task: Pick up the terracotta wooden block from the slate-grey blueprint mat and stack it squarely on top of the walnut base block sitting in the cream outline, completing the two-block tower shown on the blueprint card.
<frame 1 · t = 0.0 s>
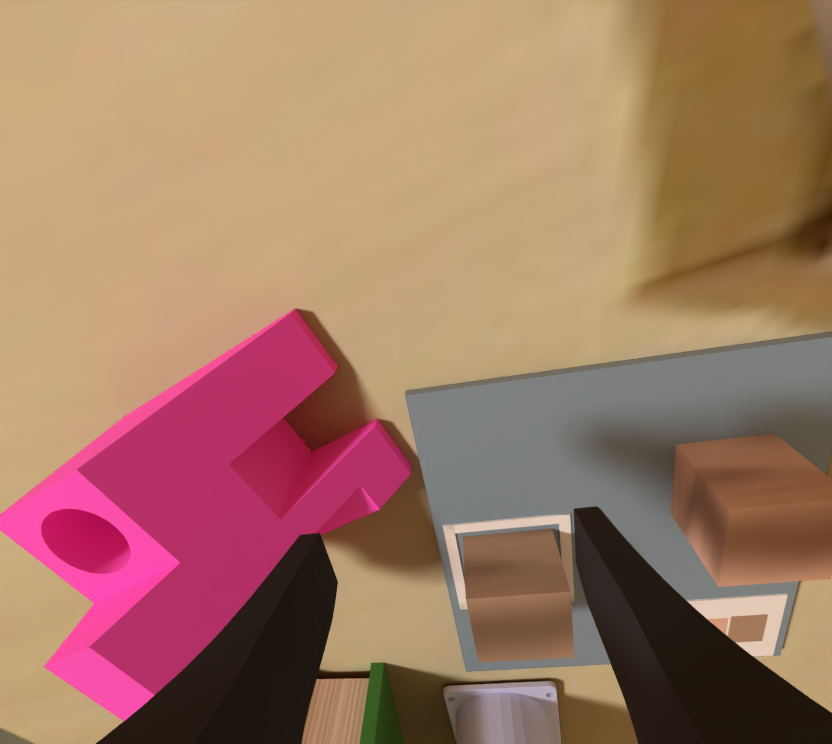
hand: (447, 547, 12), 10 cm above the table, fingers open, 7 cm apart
bracket: (270, 438, 24), on the table
blueprint mat: (613, 535, 25), on the table
terracotta block: (719, 475, 22), resting on blueprint mat
hardback book: (357, 728, 36), on the table
walnut block: (510, 564, 26), resting on blueprint mat
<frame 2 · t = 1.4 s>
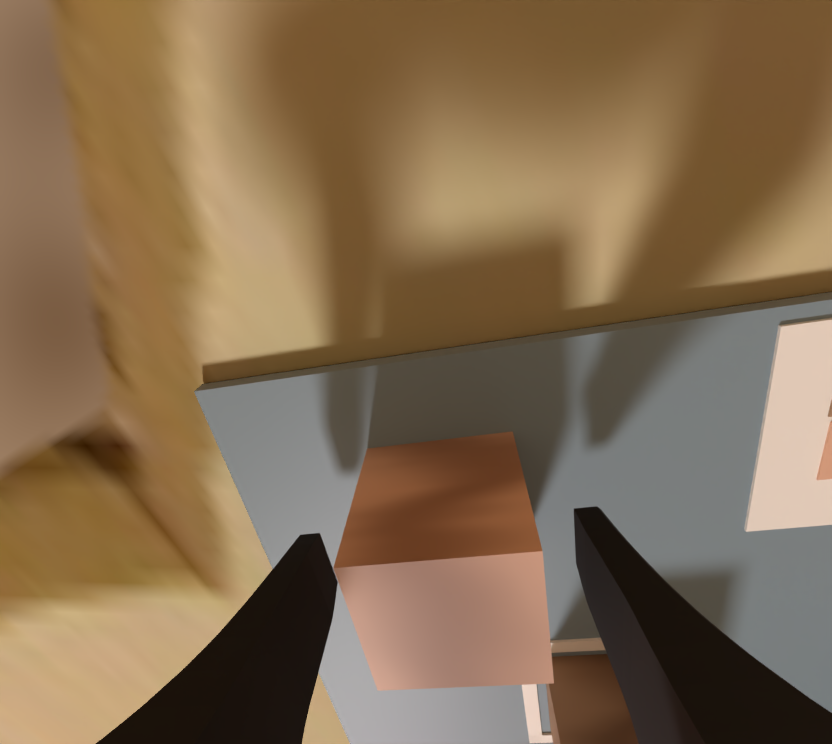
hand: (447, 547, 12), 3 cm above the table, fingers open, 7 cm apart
blueprint mat: (576, 582, 16), on the table
terracotta block: (449, 497, 14), resting on blueprint mat
walnut block: (608, 691, 18), resting on blueprint mat
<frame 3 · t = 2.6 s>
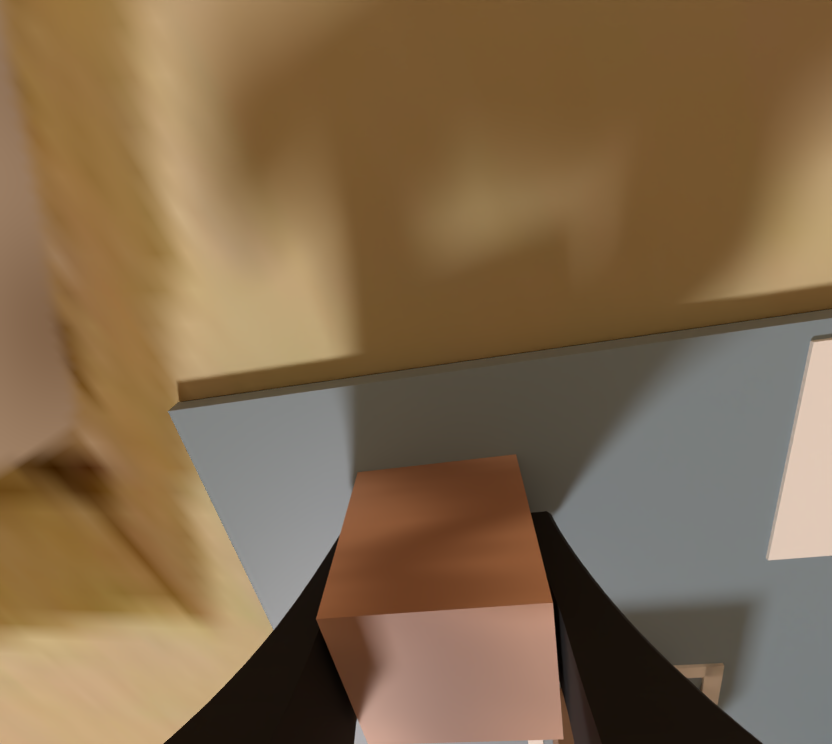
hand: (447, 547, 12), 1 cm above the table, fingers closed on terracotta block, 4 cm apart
blueprint mat: (583, 610, 15), on the table
terracotta block: (447, 523, 13), resting on blueprint mat, touching gripper
walnut block: (616, 723, 17), resting on blueprint mat
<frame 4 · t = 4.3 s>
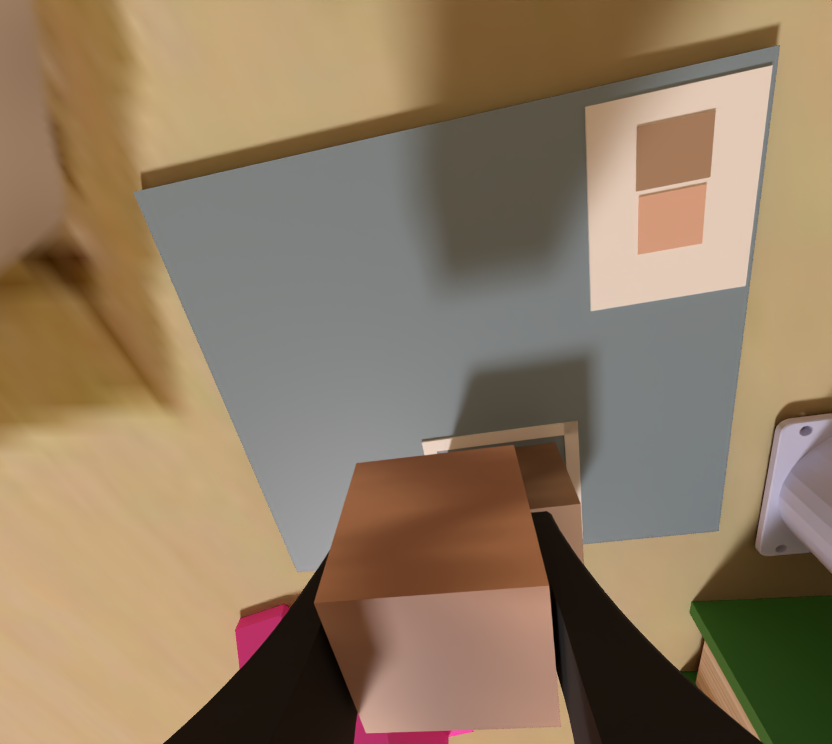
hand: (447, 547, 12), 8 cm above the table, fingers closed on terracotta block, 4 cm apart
bracket: (360, 649, 28), on the table
blueprint mat: (467, 380, 19), on the table
terracotta block: (445, 515, 13), point 7 cm above the table, touching gripper
walnut block: (505, 491, 21), resting on blueprint mat
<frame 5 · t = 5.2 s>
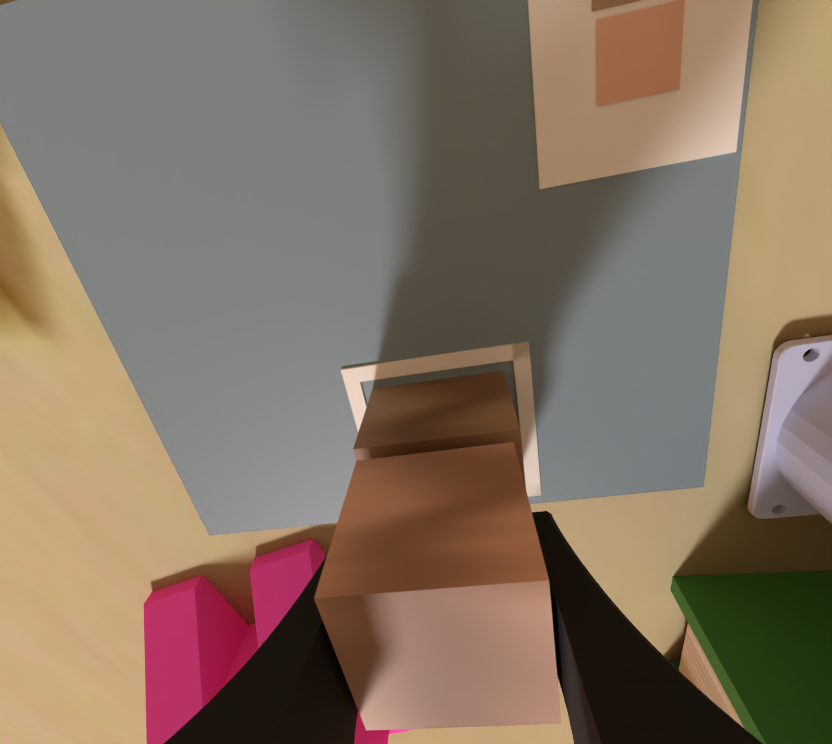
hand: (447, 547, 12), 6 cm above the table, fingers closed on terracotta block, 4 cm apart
bracket: (292, 631, 25), on the table
blueprint mat: (393, 290, 16), on the table
terracotta block: (445, 513, 13), point 5 cm above the table, touching gripper
walnut block: (446, 434, 18), resting on blueprint mat
when the fingers open (6 cm above the table, at t = 6.0 s): terracotta block stays where it is, resting on walnut block.
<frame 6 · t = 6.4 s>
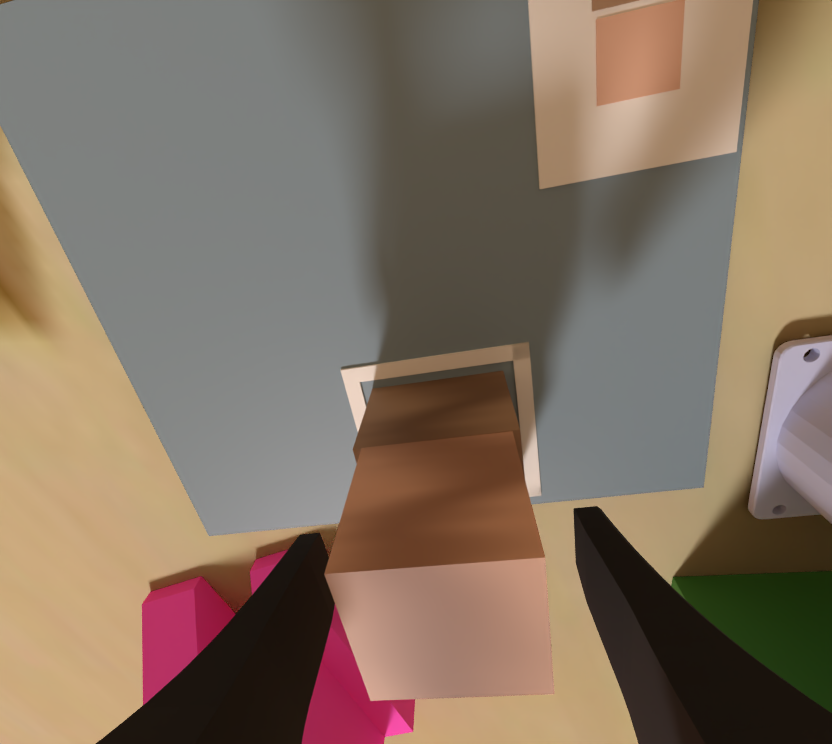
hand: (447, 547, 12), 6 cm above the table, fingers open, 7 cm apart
bracket: (290, 633, 25), on the table
blueprint mat: (393, 291, 16), on the table
terracotta block: (446, 498, 14), point 4 cm above the table, touching walnut block
walnut block: (446, 434, 17), resting on blueprint mat, touching terracotta block
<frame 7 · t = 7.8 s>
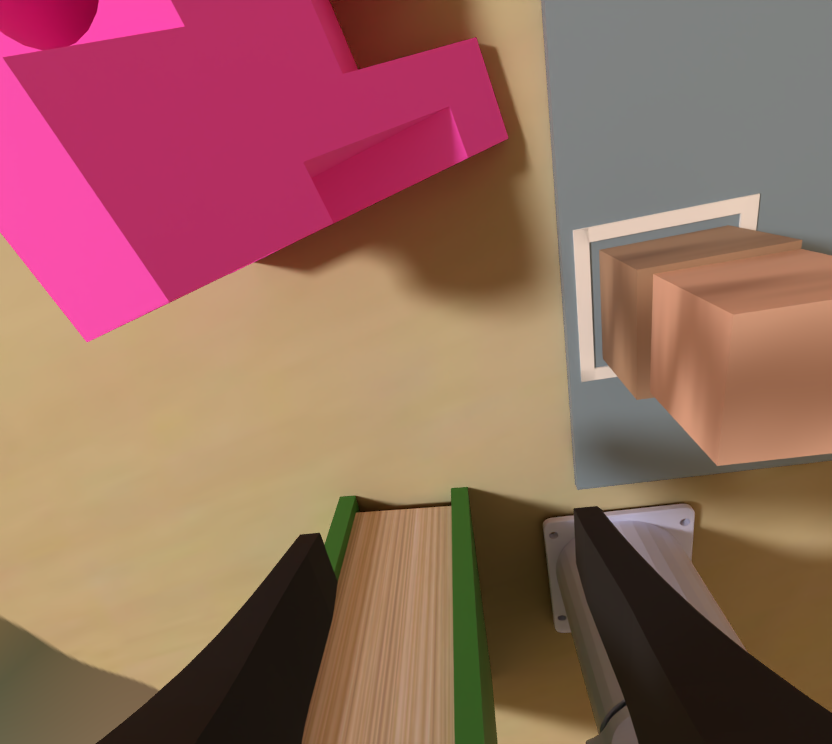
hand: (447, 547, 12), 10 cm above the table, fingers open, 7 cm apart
bracket: (313, 75, 17), on the table
blueprint mat: (809, 243, 18), on the table
terracotta block: (719, 326, 15), point 4 cm above the table, touching walnut block
hardback book: (424, 595, 29), on the table
walnut block: (661, 296, 19), resting on blueprint mat, touching terracotta block
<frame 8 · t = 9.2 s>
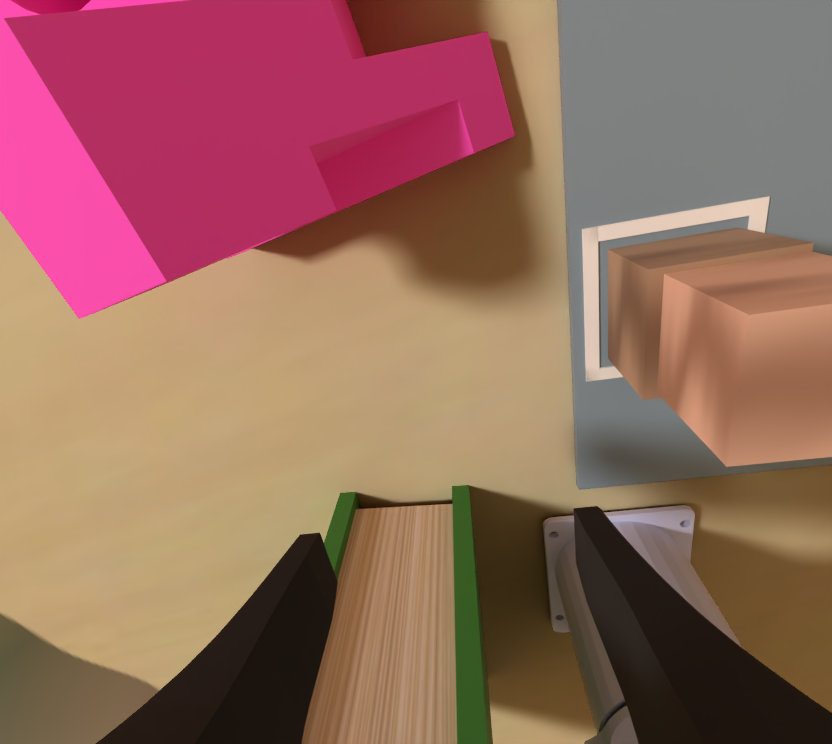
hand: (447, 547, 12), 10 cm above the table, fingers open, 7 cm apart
bracket: (320, 61, 17), on the table
blueprint mat: (816, 247, 18), on the table
terracotta block: (728, 327, 15), point 4 cm above the table, touching walnut block
hardback book: (422, 593, 29), on the table
walnut block: (668, 297, 19), resting on blueprint mat, touching terracotta block
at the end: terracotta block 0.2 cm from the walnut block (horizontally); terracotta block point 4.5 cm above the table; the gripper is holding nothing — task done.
